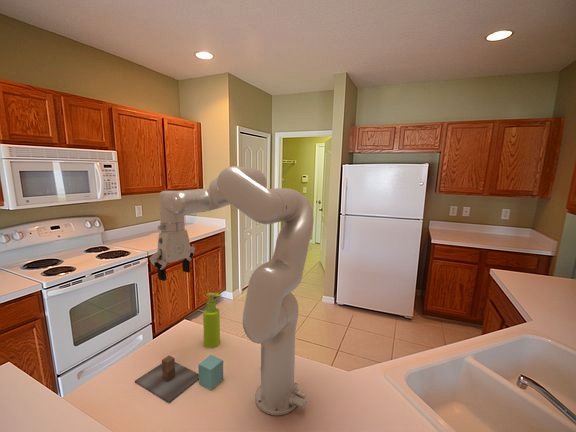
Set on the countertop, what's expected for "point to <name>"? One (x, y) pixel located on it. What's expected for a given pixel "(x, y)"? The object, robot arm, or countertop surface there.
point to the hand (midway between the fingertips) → (174, 275)
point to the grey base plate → (168, 379)
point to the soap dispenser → (211, 322)
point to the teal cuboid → (210, 372)
